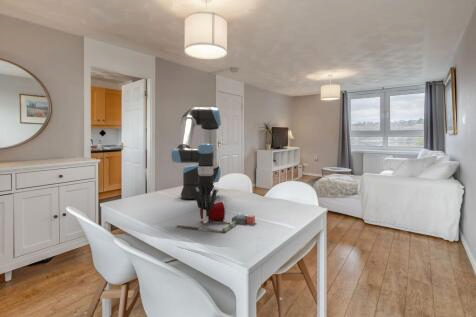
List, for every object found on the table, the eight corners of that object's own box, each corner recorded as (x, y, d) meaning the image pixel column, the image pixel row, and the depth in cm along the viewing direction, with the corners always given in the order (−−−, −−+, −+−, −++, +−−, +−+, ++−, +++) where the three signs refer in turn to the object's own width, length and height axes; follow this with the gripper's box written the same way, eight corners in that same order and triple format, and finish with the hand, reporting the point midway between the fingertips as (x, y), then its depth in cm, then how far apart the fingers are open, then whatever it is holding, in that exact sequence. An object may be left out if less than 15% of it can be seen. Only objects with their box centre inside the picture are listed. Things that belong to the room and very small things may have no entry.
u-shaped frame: (192, 220, 132) (192, 216, 132) (236, 224, 123) (236, 220, 123) (176, 227, 118) (176, 223, 118) (224, 233, 109) (224, 228, 109)
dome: (237, 220, 130) (237, 211, 130) (246, 221, 128) (246, 211, 128) (234, 222, 126) (234, 213, 126) (243, 223, 124) (243, 213, 124)
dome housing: (236, 220, 132) (236, 213, 132) (256, 222, 128) (256, 215, 128) (231, 223, 125) (231, 216, 125) (252, 225, 121) (252, 218, 121)
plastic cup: (203, 228, 122) (225, 225, 126) (203, 207, 120) (226, 205, 124) (198, 219, 132) (220, 216, 136) (198, 200, 130) (220, 198, 134)
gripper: (190, 175, 120) (190, 223, 120) (214, 175, 115) (214, 225, 115) (198, 174, 127) (198, 219, 127) (220, 174, 122) (220, 221, 122)
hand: (205, 222), depth 121 cm, fingers closed
